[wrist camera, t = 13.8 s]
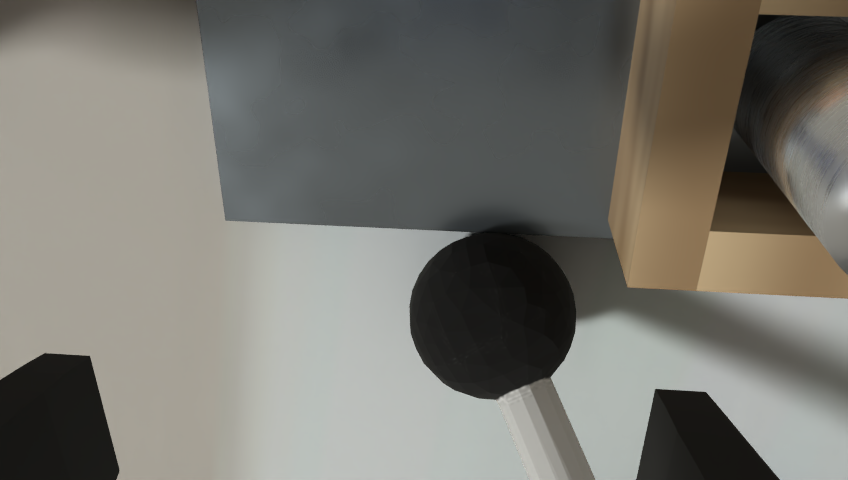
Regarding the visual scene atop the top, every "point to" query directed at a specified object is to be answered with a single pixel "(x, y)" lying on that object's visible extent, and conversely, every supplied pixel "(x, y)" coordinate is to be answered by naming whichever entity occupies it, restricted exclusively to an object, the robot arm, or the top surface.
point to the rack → (706, 162)
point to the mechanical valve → (503, 340)
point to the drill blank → (802, 119)
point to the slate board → (424, 112)
